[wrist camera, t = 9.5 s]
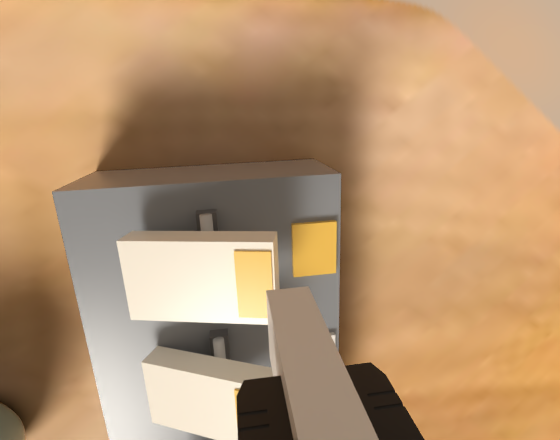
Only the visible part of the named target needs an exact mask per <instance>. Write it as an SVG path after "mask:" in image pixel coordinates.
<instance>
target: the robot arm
mask: <svg viewBox="0 0 560 440" xmlns="http://www.w3.org/2000/svg"><path fill="white" fill-rule="evenodd" d="M266 298H267V317H268V336H269V354H270V362H271V367H272V373H273V376H272V377H265V378H257V379H249V380H244V381H243V383H242V385H241V387H240V389H239V392H238V394H237V396H236V398H237V429H238V440H424V438H423V437H422V435H421V433H420V432H419V430H418V428H417V427H416V425H415V423H414V421H413V420H412V418H411V416H410V415H409V413H408V411H407V410H406V408H405V406H404V407H403V404H402V401H401V400H400V398H399V396H398V395H397V393H395V390H394V388H393V386H392V385H391V383H390V381H389V380H388V378H387V376H386V375H385V374H384V373H383V372H382V371H380V370H379V369H378V368H377V367H376V366H374V365H373V364H372V363H371V362H370V363H363V364H355V365H347V366H345V365H344V363H343V361H342V358H341V356H340V354H339V352H338V350H337V348H336V345H335V343H334V341H333V339H332V337H331V334H330V332H329V330H328V328H327V326H326V324H325V321H324V319H323V317H322V315H321V313H320V311H319V308H318V306H317V304H316V302H315V300H314V297H313V295H312V293H311V291H310V289H309V287H308V286H306V287H296V288H286V289H276V290H266Z"/></svg>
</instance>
